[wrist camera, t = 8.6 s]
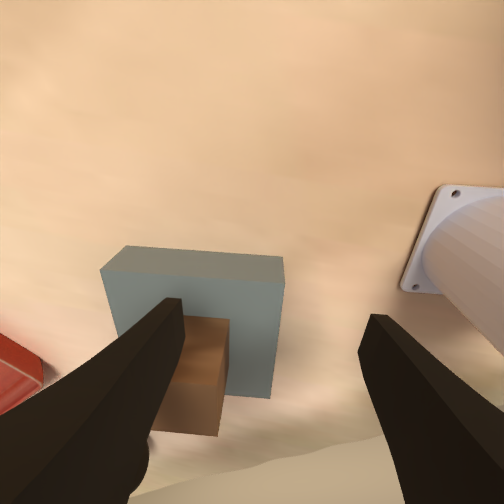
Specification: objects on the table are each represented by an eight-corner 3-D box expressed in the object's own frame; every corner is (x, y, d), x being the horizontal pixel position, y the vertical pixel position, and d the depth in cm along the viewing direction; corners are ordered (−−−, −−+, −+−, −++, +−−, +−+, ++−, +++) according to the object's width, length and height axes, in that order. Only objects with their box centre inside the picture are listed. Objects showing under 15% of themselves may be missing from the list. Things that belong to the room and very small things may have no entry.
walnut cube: (229, 318, 18) (216, 385, 13) (228, 366, 20) (217, 436, 16) (159, 313, 18) (123, 376, 14) (166, 361, 20) (138, 428, 16)
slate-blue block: (282, 253, 20) (285, 283, 16) (269, 359, 25) (270, 398, 22) (129, 242, 20) (99, 269, 17) (151, 349, 26) (132, 386, 22)
